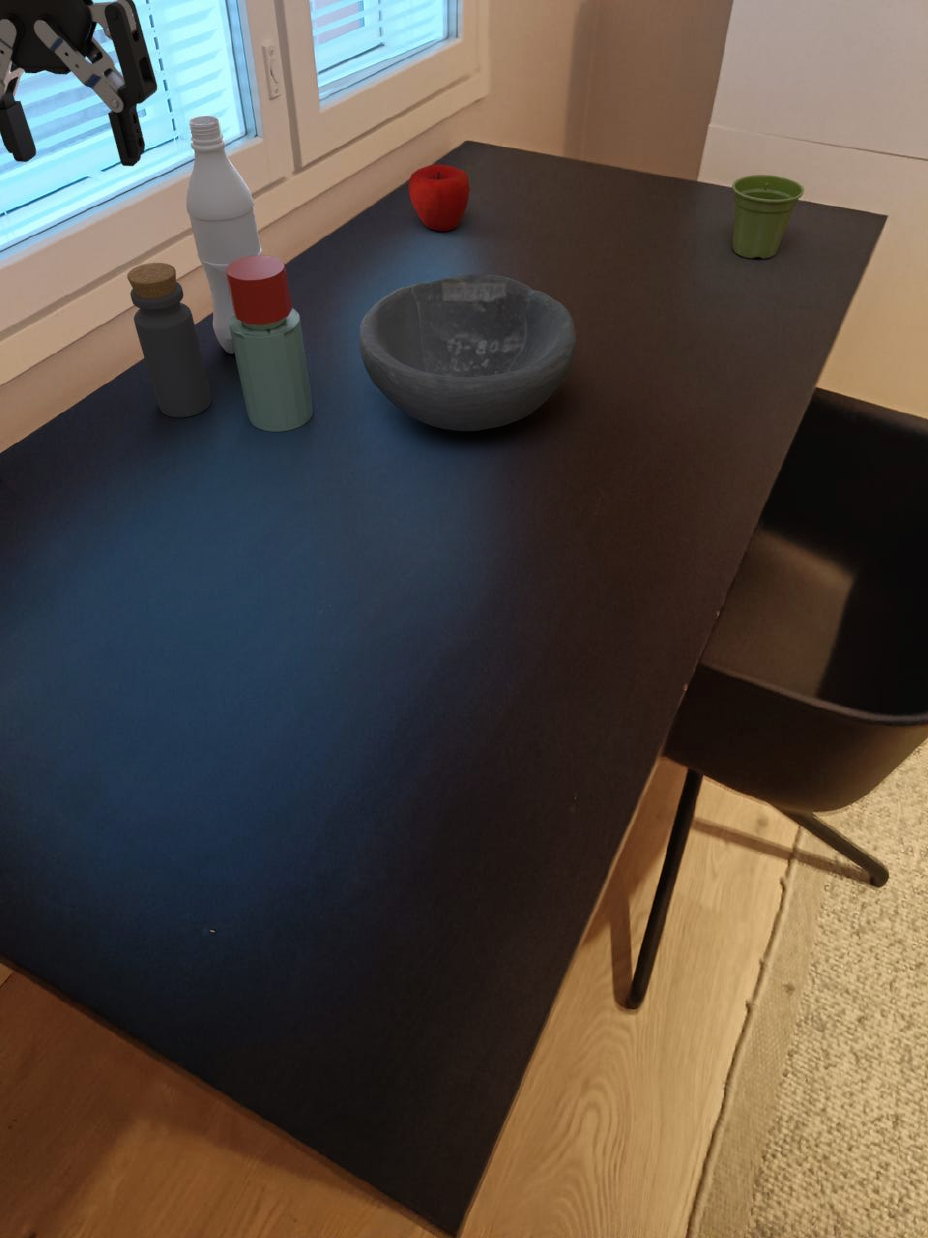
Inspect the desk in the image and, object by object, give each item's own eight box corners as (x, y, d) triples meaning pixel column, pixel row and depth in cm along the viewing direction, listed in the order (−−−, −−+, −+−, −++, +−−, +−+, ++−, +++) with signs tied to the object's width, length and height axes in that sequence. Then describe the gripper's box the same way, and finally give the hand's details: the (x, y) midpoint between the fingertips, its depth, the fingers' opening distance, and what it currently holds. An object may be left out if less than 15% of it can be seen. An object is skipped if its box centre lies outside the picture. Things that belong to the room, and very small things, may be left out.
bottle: (186, 423, 97) (151, 290, 86) (147, 408, 99) (108, 276, 88) (223, 398, 100) (193, 267, 90) (185, 384, 103) (151, 254, 92)
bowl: (322, 403, 99) (310, 319, 92) (464, 332, 111) (464, 252, 103) (469, 492, 88) (469, 403, 81) (612, 403, 99) (623, 318, 92)
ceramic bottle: (235, 417, 98) (204, 274, 86) (281, 390, 102) (257, 249, 90) (280, 439, 95) (253, 294, 83) (326, 410, 99) (307, 268, 87)
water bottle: (207, 355, 107) (153, 127, 89) (236, 328, 112) (191, 106, 94) (261, 365, 105) (217, 134, 88) (288, 336, 110) (252, 112, 92)
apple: (406, 216, 136) (403, 161, 130) (463, 212, 137) (463, 157, 131) (415, 240, 130) (412, 184, 124) (474, 235, 131) (474, 179, 125)
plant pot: (706, 250, 127) (718, 186, 121) (745, 231, 131) (759, 168, 125) (762, 271, 122) (777, 205, 116) (801, 251, 126) (818, 187, 120)
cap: (223, 313, 89) (213, 269, 86) (264, 293, 92) (256, 249, 89) (261, 330, 87) (253, 285, 84) (302, 308, 90) (296, 264, 87)
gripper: (129, -118, 59) (185, 147, 70) (-73, -121, 60) (15, 140, 72) (79, -101, 54) (149, 183, 65) (-140, -105, 55) (-34, 174, 67)
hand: (78, 160), depth 68 cm, fingers open, 8 cm apart
